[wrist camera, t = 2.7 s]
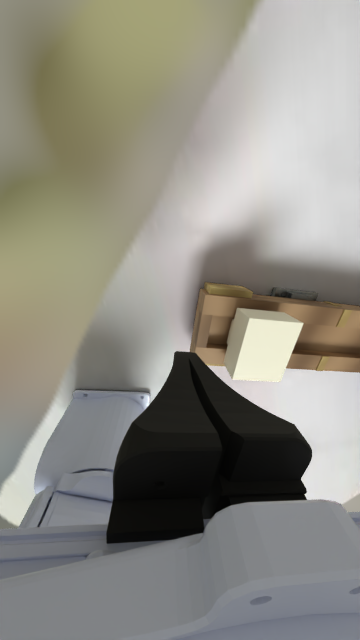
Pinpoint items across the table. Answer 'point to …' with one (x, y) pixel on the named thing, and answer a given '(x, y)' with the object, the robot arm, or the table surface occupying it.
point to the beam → (318, 317)
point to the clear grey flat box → (294, 294)
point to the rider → (260, 344)
